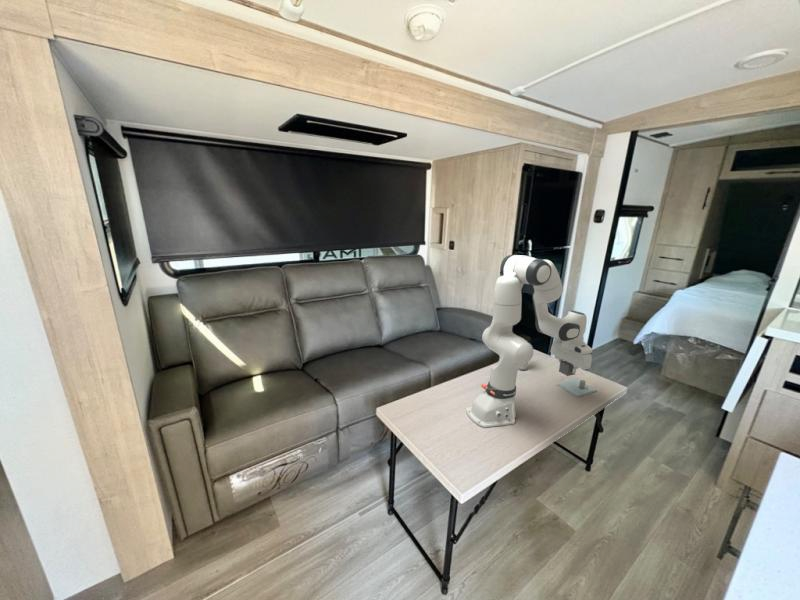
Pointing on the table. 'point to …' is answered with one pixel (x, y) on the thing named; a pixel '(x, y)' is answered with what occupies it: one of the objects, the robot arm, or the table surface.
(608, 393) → the table surface
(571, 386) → the hub plate
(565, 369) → the dark brown block
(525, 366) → the travel mug
